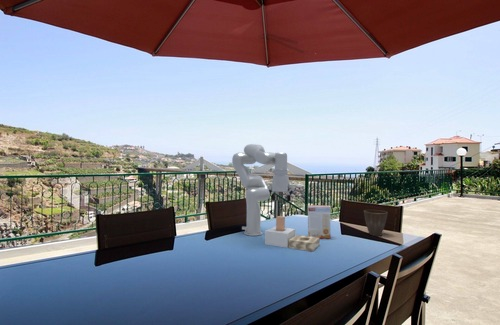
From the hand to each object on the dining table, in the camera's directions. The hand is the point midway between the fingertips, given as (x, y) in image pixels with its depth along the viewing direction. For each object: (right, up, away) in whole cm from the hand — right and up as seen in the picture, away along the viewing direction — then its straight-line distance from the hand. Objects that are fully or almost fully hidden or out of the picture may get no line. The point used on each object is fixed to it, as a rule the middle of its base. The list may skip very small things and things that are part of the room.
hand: (281, 201), depth 176 cm
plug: (0, -22, 0) cm, 22 cm away
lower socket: (+13, -26, -7) cm, 29 cm away
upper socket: (0, -26, 0) cm, 26 cm away
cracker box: (+26, -26, +14) cm, 40 cm away
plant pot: (+67, -26, +23) cm, 76 cm away
